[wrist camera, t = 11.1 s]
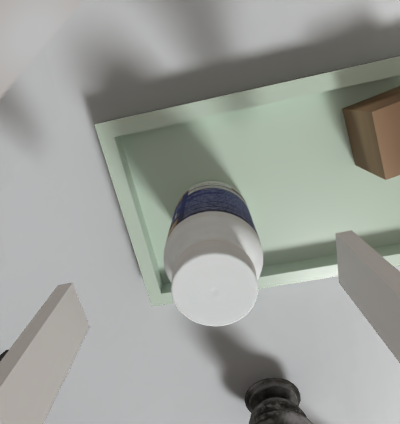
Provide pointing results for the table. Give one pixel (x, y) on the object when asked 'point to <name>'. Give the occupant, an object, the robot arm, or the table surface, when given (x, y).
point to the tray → (259, 172)
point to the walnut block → (376, 133)
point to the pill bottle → (213, 255)
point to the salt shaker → (275, 403)
